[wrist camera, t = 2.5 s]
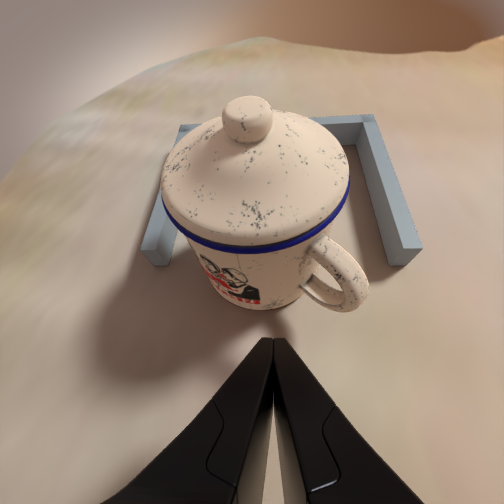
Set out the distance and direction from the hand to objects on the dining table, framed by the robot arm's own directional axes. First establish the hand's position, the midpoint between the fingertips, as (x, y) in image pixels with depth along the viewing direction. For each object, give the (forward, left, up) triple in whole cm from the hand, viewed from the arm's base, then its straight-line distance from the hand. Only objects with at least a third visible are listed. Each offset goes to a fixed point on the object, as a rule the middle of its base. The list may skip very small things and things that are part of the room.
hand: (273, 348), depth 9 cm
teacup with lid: (+6, +3, -8) cm, 10 cm away
